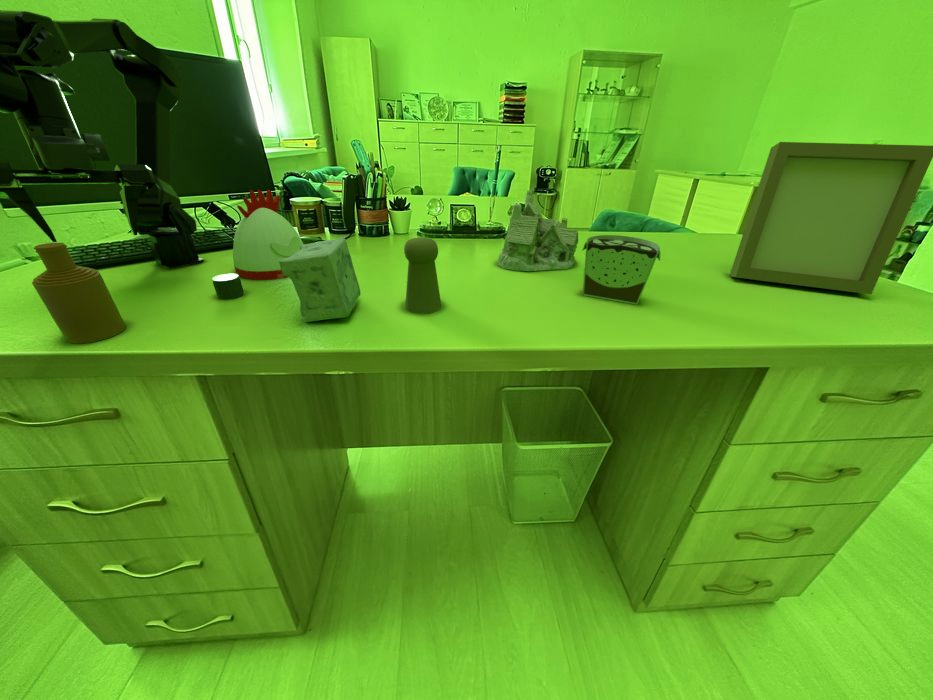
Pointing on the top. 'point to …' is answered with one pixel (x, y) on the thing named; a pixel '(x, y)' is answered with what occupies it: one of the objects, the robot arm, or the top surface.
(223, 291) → the cap
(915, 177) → the photo frame
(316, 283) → the incense holder
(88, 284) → the bottle
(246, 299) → the top surface
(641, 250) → the food container
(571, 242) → the ceramic cottage
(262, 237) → the kitchen timer
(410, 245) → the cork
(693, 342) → the top surface
